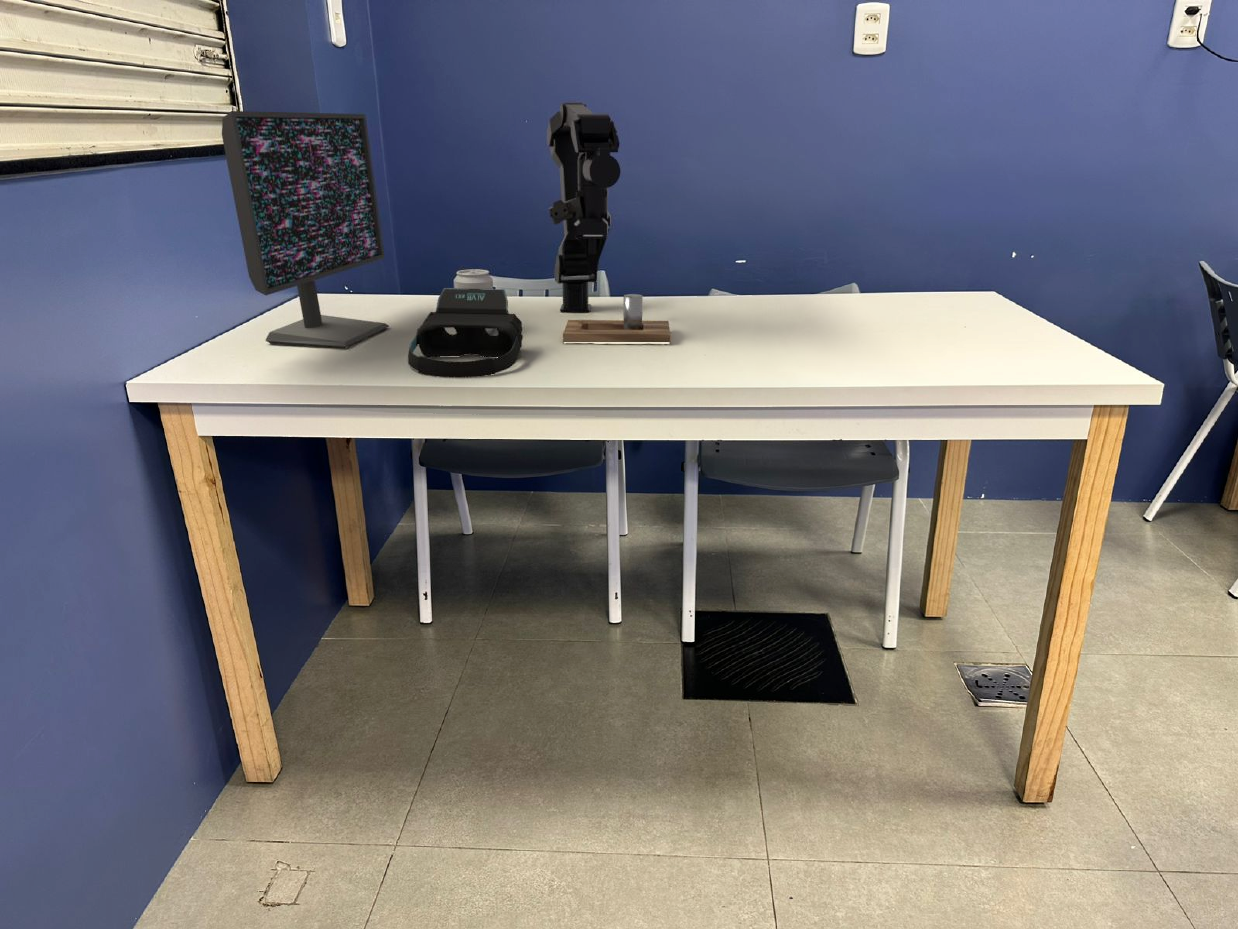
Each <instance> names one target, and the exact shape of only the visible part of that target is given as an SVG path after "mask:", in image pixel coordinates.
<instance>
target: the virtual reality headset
mask: <svg viewBox="0 0 1238 929" xmlns="http://www.w3.org/2000/svg"><path fill="white" fill-rule="evenodd" d="M508 304H509V301H508V297H507V293H506V290H505V289H504V288H493V289H469V288H454V287H443V288H442V290H441V292H440V295H439V297H438V299H437V303H436V309H435V311H429V313H428V315H427V317H426V318H425V319H424V321H423V322H422V324H421V325H420V326H419V327H418V328H417V330H416V335H415V336H414V338H413V340H412V341H411V343H410V345H409V348H408V353H407V354H408V355H407V362H408V363H407V364H408V365H409V367H410V368H412V369H414V370H415V371H417V373H418V374H421V375H423V374H424V375H425V376H429V375H430V376H431V377H437V376H439V378H477V377H478V376H479V377H486V376H485V375H488V376H492V375H491V374H495V375H496V374H497V373H500V372H503V371H506V370H508V369H510V368H511V367H513V366H514V365H515V364H516V362H518V359H519V357H520V353H521V350H522V348H523V340H524V339H523V338H524V336H523V333H522V332H523V322H522V320H521V319H520V318H519V317H518V316H517V314H516V313H510V312H509V310H508V308H509V305H508ZM446 328H447V329H448V328H451V329H452V328H453V329H454V330H455V331H456V332H455V334H452V333H449V332H448V331H447V330H446ZM485 328H487V329H493V330H496V331H497V334H495V335H492V334H491V333H489V334H488V333H487V331H486V329H485ZM417 347H419V349H420V352H421V354H422V355H423V356H422V355H421V356H418V355H416V354H415V353H414V351H415V350H416V348H417ZM464 354H468V355H473V354H477V355H478V356H479V357H480V356H482V357H481V358H483V359H477V360H476V359H474V360H461V361H455V360H454V361H453V360H441V359H435V358H441V357H440V356H460V357H462V355H463V356H465V355H464ZM483 356H484V357H483ZM429 357H432V358H429ZM490 357H498V358H490ZM424 375H423V376H424Z"/></svg>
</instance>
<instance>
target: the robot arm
mask: <svg viewBox="0 0 1238 929" xmlns="http://www.w3.org/2000/svg"><path fill="white" fill-rule="evenodd" d="M617 131H618V130H617V127H616V125H615V122H614V120H612V118H611V116H610V114H609V113H594V112H593V111H591V110H590V109H589V108H588V107H587V104H586V103H583V102H575V101H574V102H573V101H571V102H570V101H568V102H567V101H566V102H563V103H560V106H559V110H558V111H557V112H556V113H555V114H554V115H552V116H551V118H549V120H548V125H547V131H546V143H547V147H549V150H550V157H551V159H552V160H553V162H554V163H555V164H556V166H557V168H558V169H559V179H560V180H559V181H560V194H561V199H559V200H555V201H553V202H552V206H550V207H549V208H547V209H548V213H549V217H550V218H551V220H552V224H553V226H555V225H558V224H561V222H563V231H564V232H563V234H564V236H563V239H562V241H561V244H560V246H559V247H558V252H557V253H558V254H557V255H556V258H555V264H554V269H553V270H554V271H553V275H554V281H555V282H556V283H557V284H562V304H561V306H560V308H559V312H561V313H563V312H566V313H569V312H570V313H571V312H572V313H577V312H578V313H579V312H580V313H588V312H589V313H590V311H591V308H592V304H590V303H589V283H596V282H598V270H599V264H600V259H601V256H602V253H603V249H604V247H605V243H606V241H607V239H608V235H609V234H610V233H609V232H610V229H611V224H612V220H611V219H612V216H611V214H610V213H609V188H611V187H613V186H614V185H615V184H616V183H617V182H618V181H619V179H620V176H621V172H622V171H621V167H620V163H619V161H618V160H617V159H616V158H615V157H614V156H612V155H611V153H613V154H614V153H619V148H620V144H621V143H620V140H619V135H618V132H617Z"/></svg>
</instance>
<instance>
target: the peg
mask: <svg viewBox="0 0 1238 929" xmlns="http://www.w3.org/2000/svg"><path fill="white" fill-rule="evenodd" d="M643 297H644V296H643V295H642V294H635V293H631V294H624V295H623V319H622V320H623V330H642V321H643Z"/></svg>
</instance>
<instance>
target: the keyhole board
mask: <svg viewBox="0 0 1238 929" xmlns="http://www.w3.org/2000/svg"><path fill="white" fill-rule="evenodd" d="M563 342H670V343H671V329H670V322H669V320H642V330H623V319H621V320H619V319H567V322H566V325H565V328H564V330H563V333H562V343H563Z"/></svg>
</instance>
